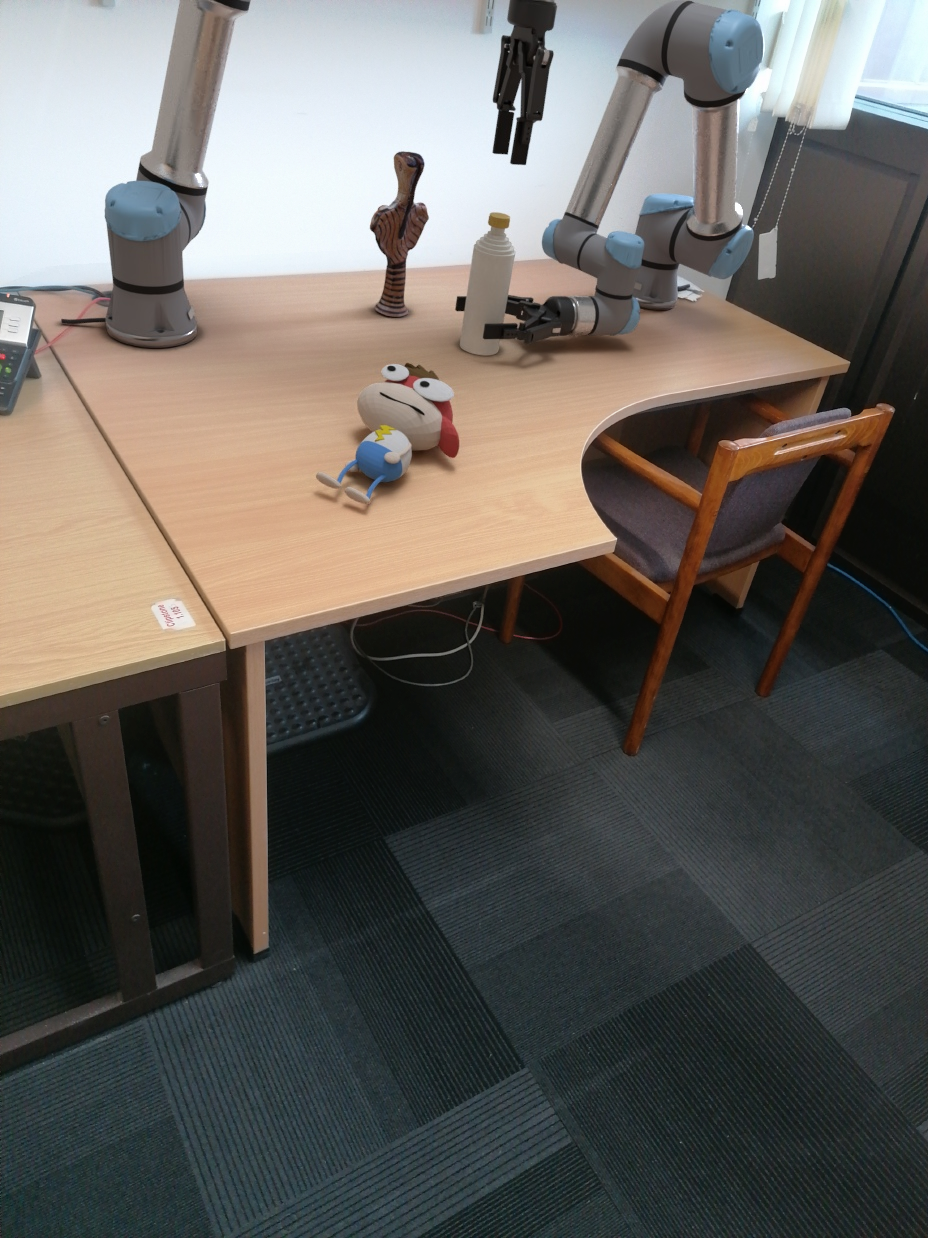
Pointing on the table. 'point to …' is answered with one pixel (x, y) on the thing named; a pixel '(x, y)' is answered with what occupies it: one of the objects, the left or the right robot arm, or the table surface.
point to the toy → (399, 425)
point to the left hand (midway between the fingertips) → (508, 158)
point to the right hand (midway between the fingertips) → (470, 317)
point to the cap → (499, 220)
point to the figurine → (399, 231)
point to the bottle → (487, 291)
